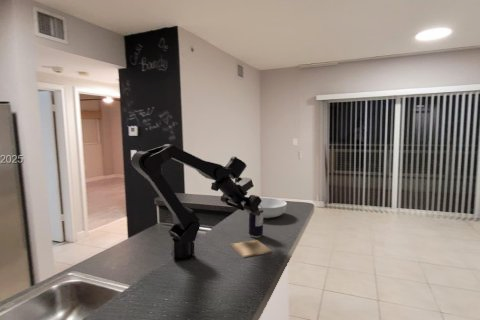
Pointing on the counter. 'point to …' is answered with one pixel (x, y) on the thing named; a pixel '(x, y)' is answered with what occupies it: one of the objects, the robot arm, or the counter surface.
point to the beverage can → (256, 223)
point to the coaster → (250, 248)
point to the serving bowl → (272, 207)
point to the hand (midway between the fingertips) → (251, 212)
